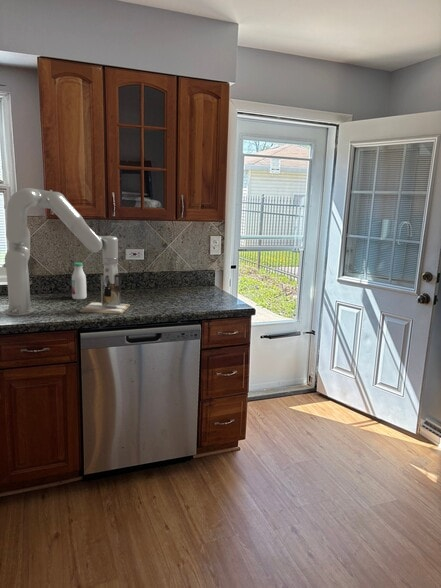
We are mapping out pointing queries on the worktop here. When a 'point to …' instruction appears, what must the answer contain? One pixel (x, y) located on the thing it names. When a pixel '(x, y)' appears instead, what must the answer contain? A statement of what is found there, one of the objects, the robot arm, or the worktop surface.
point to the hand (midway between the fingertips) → (110, 294)
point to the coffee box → (115, 292)
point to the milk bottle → (78, 282)
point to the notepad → (104, 308)
